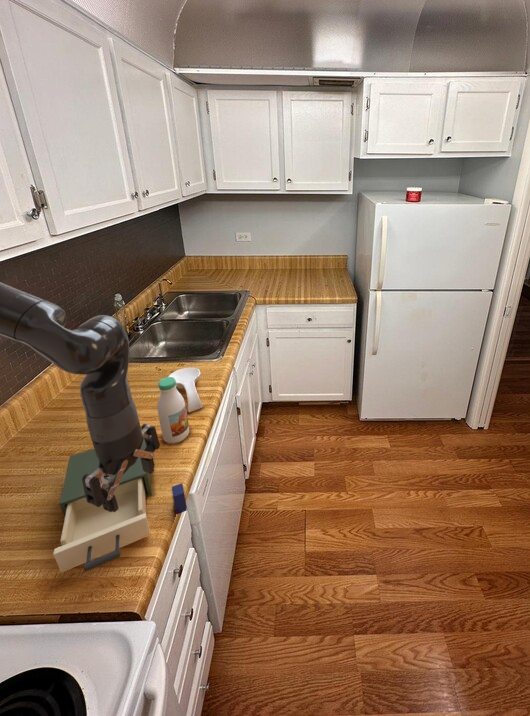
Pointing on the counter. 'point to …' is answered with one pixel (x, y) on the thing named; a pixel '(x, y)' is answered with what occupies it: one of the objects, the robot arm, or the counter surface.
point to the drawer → (102, 528)
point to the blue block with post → (179, 498)
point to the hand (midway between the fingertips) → (131, 489)
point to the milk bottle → (172, 412)
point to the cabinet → (89, 464)
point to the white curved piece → (188, 385)
